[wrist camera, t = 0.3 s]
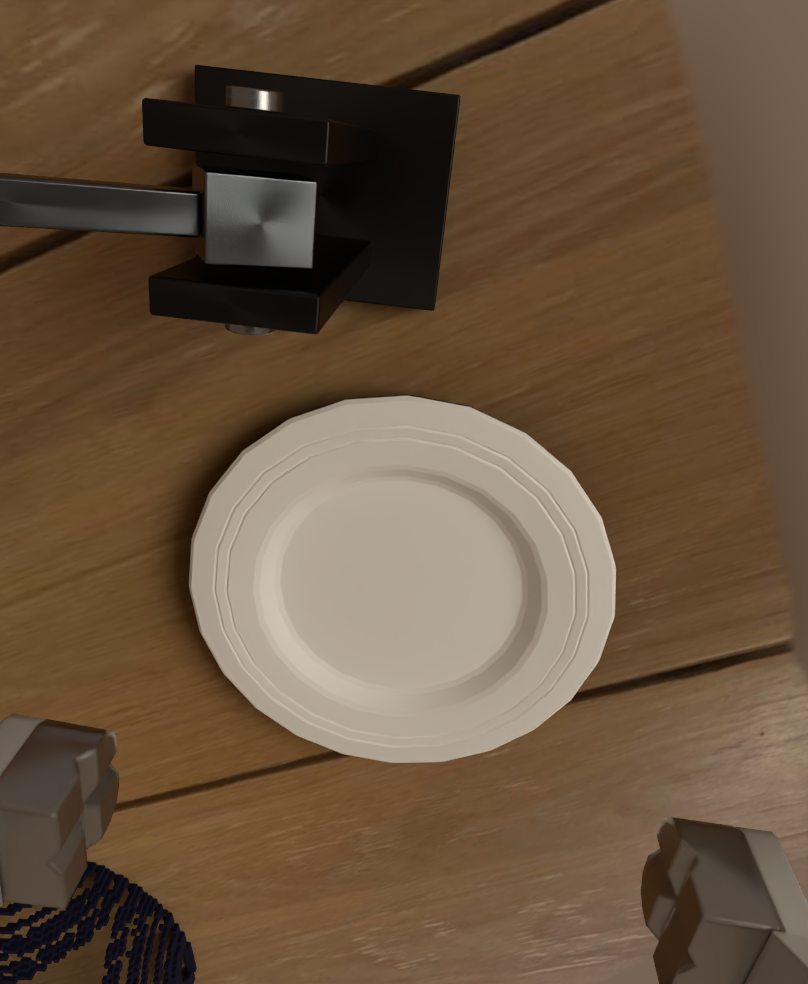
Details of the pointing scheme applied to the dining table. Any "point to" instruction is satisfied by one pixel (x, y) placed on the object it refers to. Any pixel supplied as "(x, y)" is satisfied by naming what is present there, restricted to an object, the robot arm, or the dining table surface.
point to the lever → (181, 212)
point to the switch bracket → (340, 193)
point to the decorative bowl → (85, 929)
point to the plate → (402, 579)
